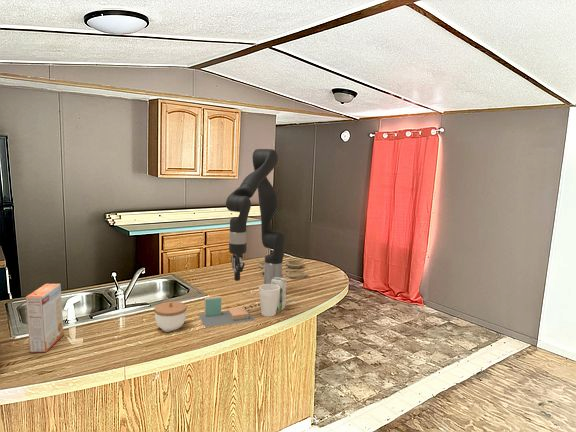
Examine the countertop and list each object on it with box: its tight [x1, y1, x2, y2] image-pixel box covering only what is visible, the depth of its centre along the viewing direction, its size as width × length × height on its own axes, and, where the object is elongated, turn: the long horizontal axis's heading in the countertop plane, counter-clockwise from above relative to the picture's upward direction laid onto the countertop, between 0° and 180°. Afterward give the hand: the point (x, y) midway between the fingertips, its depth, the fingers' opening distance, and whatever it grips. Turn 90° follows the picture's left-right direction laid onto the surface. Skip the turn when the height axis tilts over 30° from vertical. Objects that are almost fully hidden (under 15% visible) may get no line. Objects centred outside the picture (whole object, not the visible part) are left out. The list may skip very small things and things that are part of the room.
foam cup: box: [258, 283, 280, 317], centre depth 184 cm, size 10×9×13 cm
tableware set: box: [257, 259, 309, 279], centre depth 255 cm, size 35×29×4 cm
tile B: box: [203, 295, 222, 317], centre depth 180 cm, size 7×2×8 cm, turn 114°
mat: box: [197, 308, 256, 328], centre depth 178 cm, size 22×14×1 cm, turn 114°
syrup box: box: [271, 277, 287, 312], centre depth 192 cm, size 6×6×14 cm
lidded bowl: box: [153, 301, 188, 333], centre depth 166 cm, size 13×13×11 cm
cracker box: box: [25, 283, 65, 353], centre depth 148 cm, size 14×6×21 cm, turn 5°
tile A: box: [227, 306, 249, 321], centre depth 180 cm, size 7×2×8 cm
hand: (237, 280), depth 178 cm, fingers closed
